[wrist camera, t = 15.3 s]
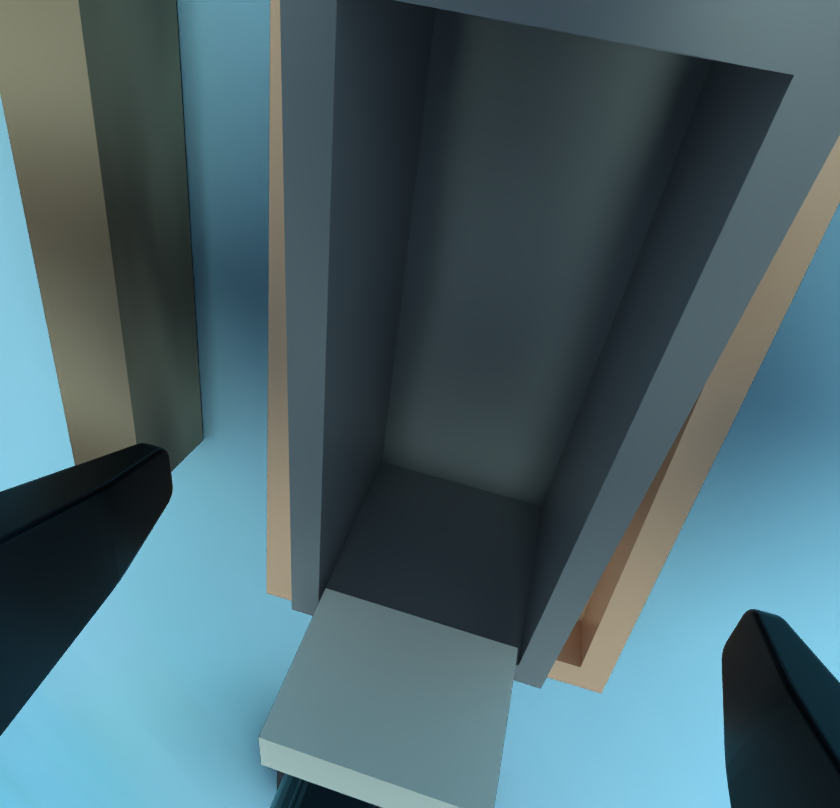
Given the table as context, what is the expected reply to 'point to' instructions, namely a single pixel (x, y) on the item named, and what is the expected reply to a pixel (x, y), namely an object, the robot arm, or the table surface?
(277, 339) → the tray
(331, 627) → the caddy
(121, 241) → the dock
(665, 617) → the table surface
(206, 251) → the table surface
